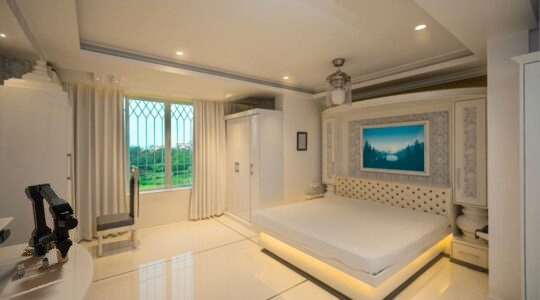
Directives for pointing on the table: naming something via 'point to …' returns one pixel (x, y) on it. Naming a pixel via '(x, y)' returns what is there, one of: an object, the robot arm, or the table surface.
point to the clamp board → (33, 270)
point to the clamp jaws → (44, 263)
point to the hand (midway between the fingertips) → (63, 256)
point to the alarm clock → (31, 250)
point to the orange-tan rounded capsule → (59, 257)
